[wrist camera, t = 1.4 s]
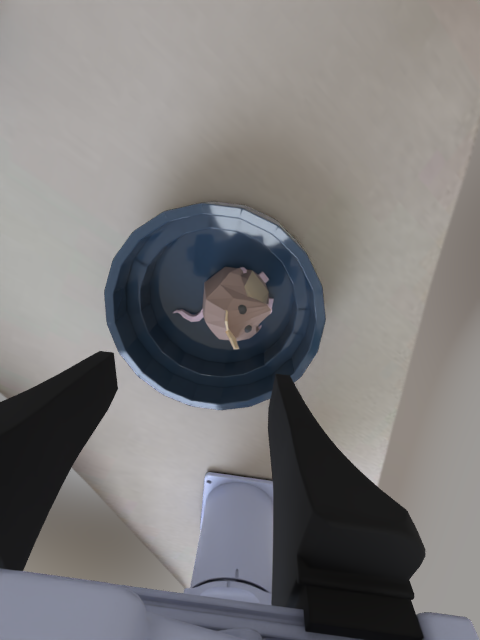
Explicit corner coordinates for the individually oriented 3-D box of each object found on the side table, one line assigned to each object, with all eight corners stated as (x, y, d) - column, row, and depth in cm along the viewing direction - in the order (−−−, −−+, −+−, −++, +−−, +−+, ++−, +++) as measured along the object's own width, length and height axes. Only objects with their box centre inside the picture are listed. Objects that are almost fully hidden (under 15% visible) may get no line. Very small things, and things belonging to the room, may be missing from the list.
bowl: (294, 385, 26) (300, 421, 22) (135, 363, 26) (111, 395, 22) (332, 215, 20) (350, 221, 16) (129, 190, 20) (95, 189, 16)
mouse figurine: (161, 281, 22) (123, 315, 16) (263, 255, 21) (263, 280, 15) (184, 340, 24) (157, 390, 18) (278, 319, 23) (284, 365, 17)
